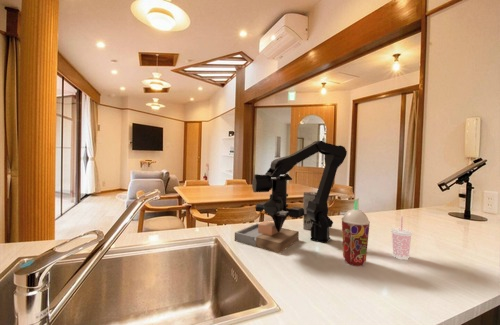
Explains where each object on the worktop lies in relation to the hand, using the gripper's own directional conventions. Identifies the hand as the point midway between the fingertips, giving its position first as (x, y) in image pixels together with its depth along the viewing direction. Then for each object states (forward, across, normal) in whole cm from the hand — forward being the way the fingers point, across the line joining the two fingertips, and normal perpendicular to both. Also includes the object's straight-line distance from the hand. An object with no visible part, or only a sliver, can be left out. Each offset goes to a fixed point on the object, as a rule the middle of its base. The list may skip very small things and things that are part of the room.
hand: (278, 231), depth 95 cm
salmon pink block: (+1, -4, 0) cm, 5 cm away
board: (+5, 0, 0) cm, 5 cm away
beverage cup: (+5, +40, +14) cm, 42 cm away
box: (+5, -10, 0) cm, 11 cm away
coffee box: (+5, +2, +28) cm, 29 cm away
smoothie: (+5, +28, 0) cm, 28 cm away
